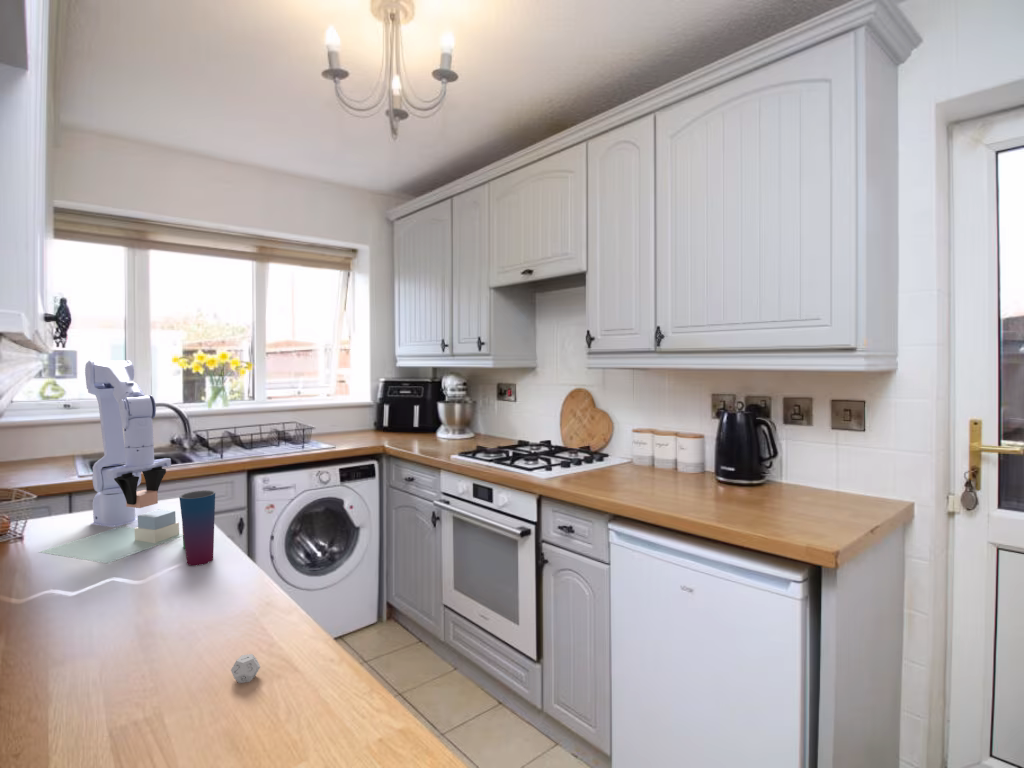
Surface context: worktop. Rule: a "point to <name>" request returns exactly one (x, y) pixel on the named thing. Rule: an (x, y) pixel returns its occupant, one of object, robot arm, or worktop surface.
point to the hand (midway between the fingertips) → (142, 501)
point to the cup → (198, 525)
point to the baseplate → (105, 546)
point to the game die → (245, 668)
